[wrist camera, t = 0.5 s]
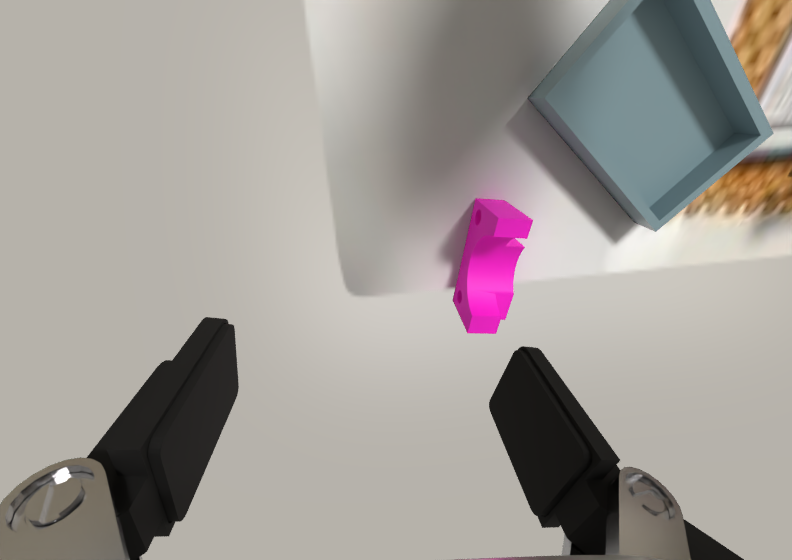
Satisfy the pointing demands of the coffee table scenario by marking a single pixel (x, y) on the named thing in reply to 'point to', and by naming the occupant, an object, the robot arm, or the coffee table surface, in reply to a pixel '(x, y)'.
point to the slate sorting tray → (654, 104)
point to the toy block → (489, 264)
